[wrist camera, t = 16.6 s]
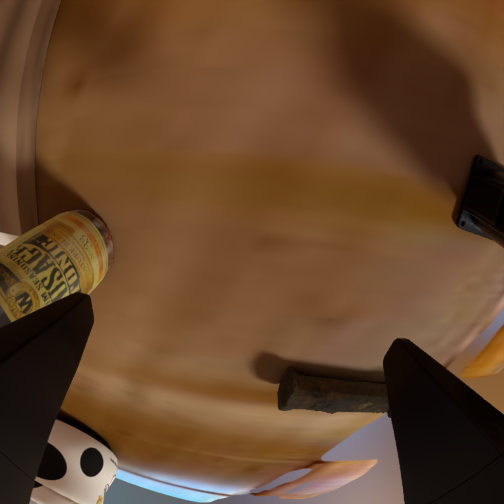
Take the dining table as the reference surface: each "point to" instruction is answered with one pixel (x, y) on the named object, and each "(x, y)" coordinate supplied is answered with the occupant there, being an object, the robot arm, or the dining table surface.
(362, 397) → the hand tool
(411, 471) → the robot arm
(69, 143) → the dining table surface
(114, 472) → the milk container
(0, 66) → the walnut board
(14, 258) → the sauce bottle
